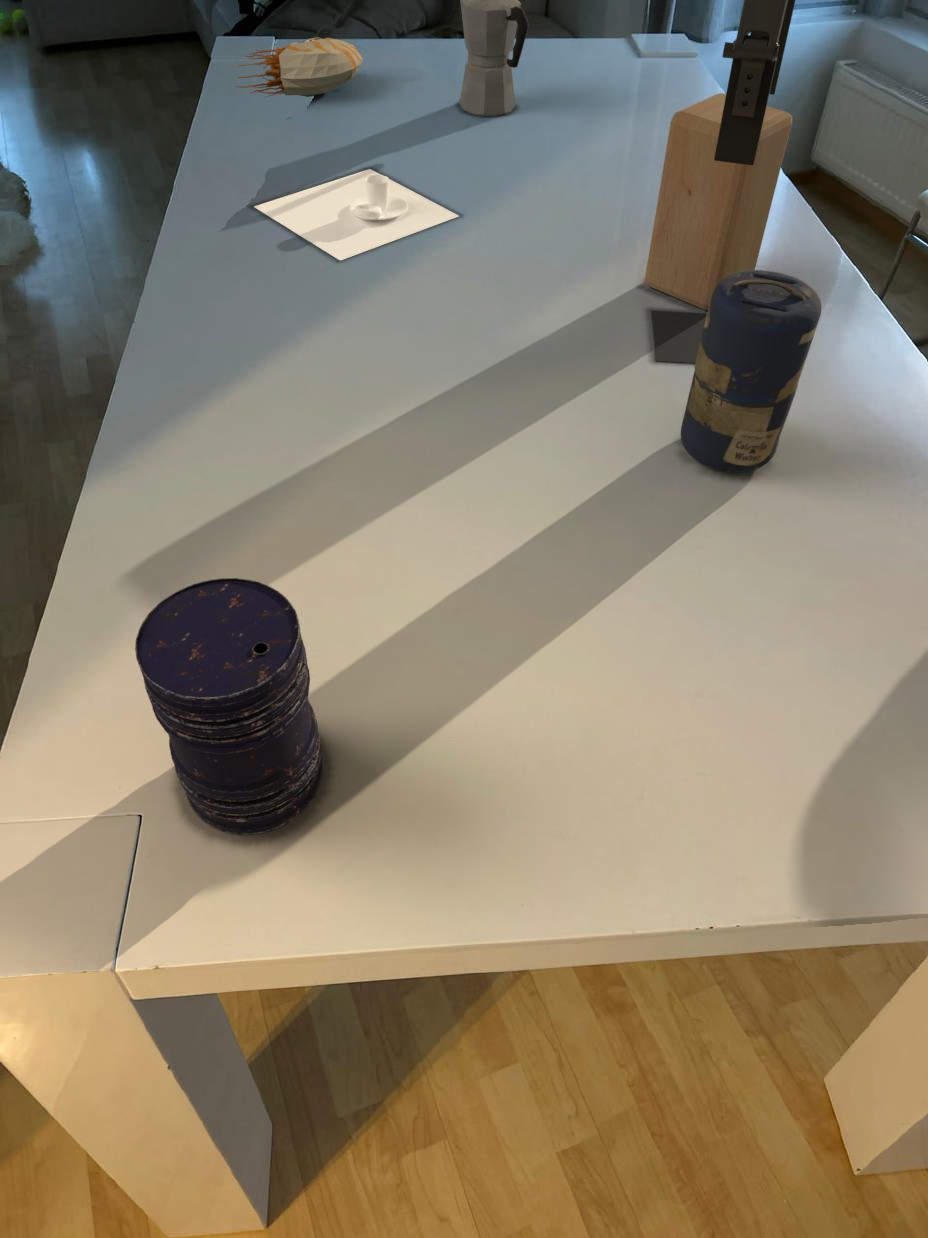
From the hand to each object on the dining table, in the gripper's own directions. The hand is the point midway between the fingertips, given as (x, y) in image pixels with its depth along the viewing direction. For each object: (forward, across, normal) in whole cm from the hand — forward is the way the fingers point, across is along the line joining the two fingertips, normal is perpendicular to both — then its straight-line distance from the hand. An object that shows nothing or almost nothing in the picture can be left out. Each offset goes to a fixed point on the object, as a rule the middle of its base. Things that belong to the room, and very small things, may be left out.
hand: (746, 124), depth 70 cm
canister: (+31, -3, +4) cm, 32 cm away
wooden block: (+32, -35, -3) cm, 47 cm away
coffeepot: (+32, -83, -45) cm, 99 cm away
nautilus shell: (+32, -79, -77) cm, 115 cm away
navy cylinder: (+30, +46, -22) cm, 60 cm away
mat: (+31, -23, -1) cm, 39 cm away
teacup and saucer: (+31, -40, -51) cm, 72 cm away
